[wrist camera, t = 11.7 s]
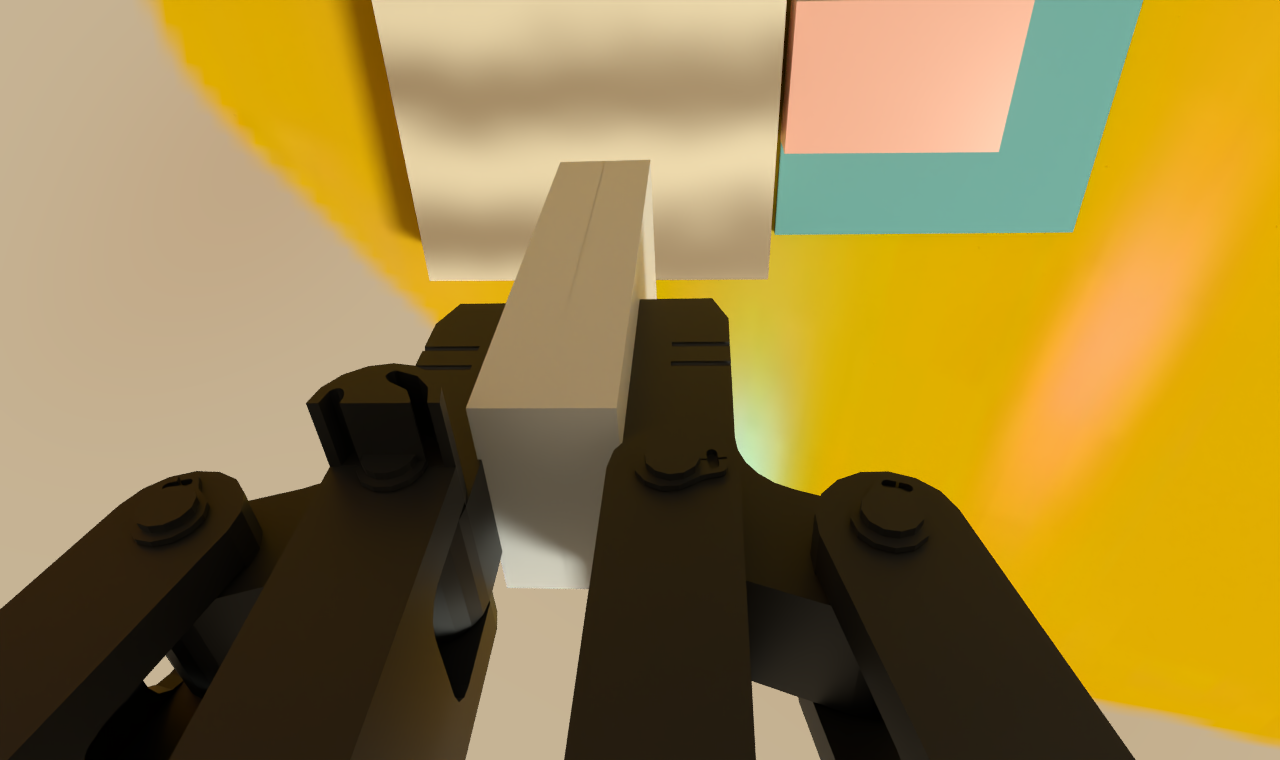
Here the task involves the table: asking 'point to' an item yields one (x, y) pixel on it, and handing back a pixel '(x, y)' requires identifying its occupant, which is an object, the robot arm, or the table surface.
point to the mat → (984, 181)
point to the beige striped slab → (587, 121)
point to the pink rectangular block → (901, 75)
